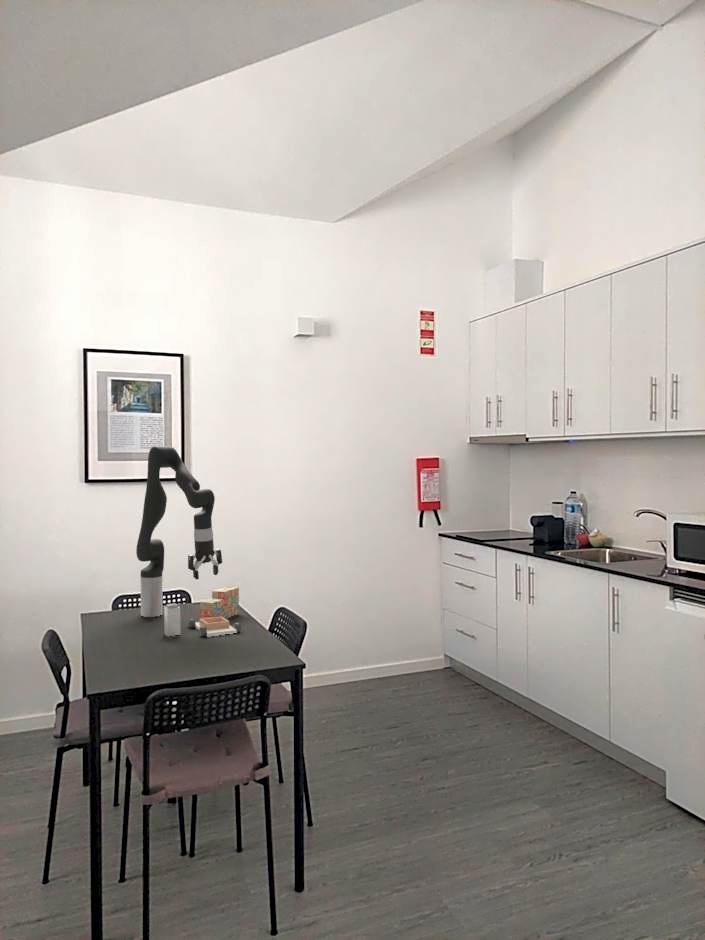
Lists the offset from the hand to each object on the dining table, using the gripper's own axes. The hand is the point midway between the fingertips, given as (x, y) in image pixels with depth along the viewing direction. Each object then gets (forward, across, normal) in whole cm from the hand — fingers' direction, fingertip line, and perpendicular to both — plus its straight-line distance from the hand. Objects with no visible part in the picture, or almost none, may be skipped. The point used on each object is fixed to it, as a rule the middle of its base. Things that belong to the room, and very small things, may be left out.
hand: (206, 576), depth 305 cm
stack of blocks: (+23, -9, -8) cm, 26 cm away
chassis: (+20, +2, +8) cm, 22 cm away
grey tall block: (+18, +19, +5) cm, 27 cm away
